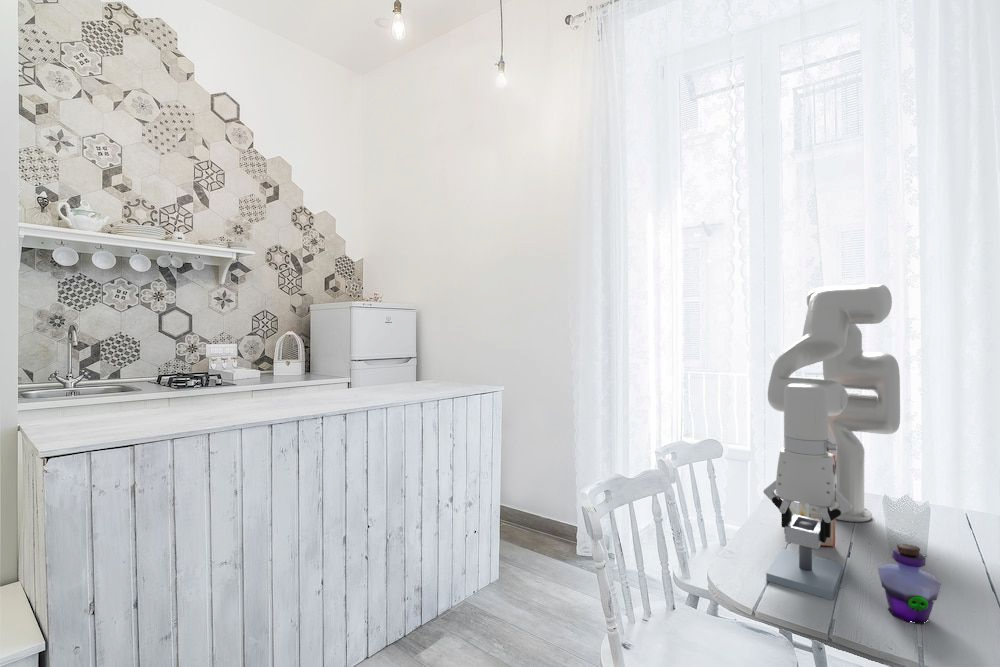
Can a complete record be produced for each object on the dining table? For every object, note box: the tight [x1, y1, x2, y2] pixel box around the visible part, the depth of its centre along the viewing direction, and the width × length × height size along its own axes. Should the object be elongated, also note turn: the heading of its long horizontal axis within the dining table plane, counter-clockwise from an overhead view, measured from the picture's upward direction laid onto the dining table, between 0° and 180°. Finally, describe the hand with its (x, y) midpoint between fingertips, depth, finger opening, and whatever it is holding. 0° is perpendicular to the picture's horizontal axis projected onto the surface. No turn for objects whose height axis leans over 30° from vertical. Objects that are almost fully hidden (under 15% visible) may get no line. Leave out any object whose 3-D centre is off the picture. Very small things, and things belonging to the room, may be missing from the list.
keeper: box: [765, 522, 844, 601], centre depth 101 cm, size 14×11×10 cm
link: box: [784, 514, 822, 550], centre depth 101 cm, size 8×6×3 cm
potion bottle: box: [877, 543, 943, 625], centre depth 87 cm, size 9×9×12 cm
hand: (805, 534), depth 101 cm, fingers closed on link, 5 cm apart
